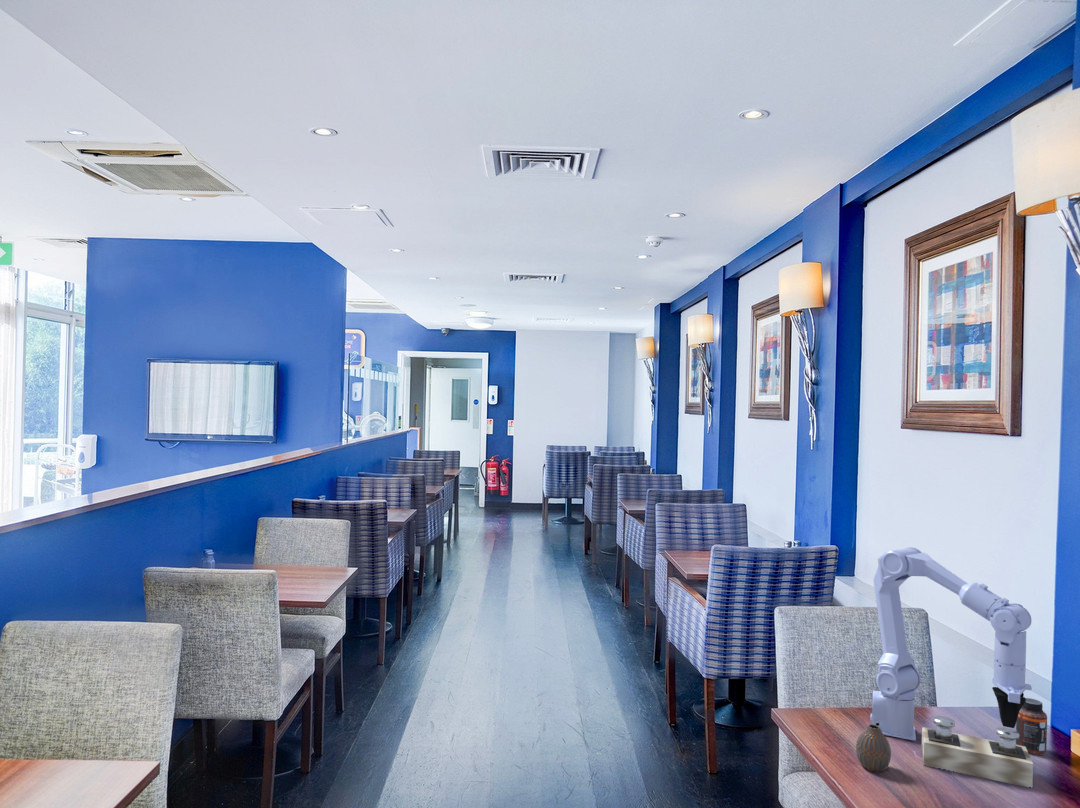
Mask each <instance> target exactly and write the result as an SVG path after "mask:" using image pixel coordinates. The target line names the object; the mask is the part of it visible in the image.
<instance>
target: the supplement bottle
mask: <svg viewBox="0 0 1080 808" xmlns="http://www.w3.org/2000/svg"><path fill="white" fill-rule="evenodd" d="M1025 699H1026V702H1025V704H1024V705H1023V706H1022V708H1021V709H1020V711H1019V714H1018V718H1017V721H1016V725H1015V731H1017V732H1018V733H1019V739H1017V740H1016V745H1019V746H1025V747H1026V749H1027V751H1028V753H1029V754H1030V753H1031V755H1036V754H1038V756H1039V755H1040V756H1041V754H1042V755H1045V754H1046V753H1047V739H1048V738H1047V737H1048V736H1047V734H1048V733H1047V732H1048V716H1047V713H1046V712H1045V711H1044V709H1043V702H1042V701H1040V700H1038V699H1035V698H1030V697H1025Z"/></svg>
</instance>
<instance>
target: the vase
mask: <svg viewBox="0 0 1080 808" xmlns="http://www.w3.org/2000/svg"><path fill="white" fill-rule="evenodd" d="M855 744H856V745H855V753H856V757H857V760H858V762H859V763H860V765H861V766H862V767H863V766H864V767H863V768H865V769H866V768H867V770H868V769H869V770H868V771H871V770H872V772H877V771H878V772H883V771H884V770H886V769H887V768H888V767H889V765H890V763H891V759H892V750H891V745H890V743H889V740H888V738H887V737H886V735H884V734H883V733H882V731H881V729H880V727H879V726H877V725H874V724H872V723H871V724H868V725H867V726H866V728H865V730H863V731H862V732H861V733H860V734H859V735H858V737H857V740H856V743H855Z"/></svg>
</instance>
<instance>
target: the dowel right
mask: <svg viewBox="0 0 1080 808" xmlns="http://www.w3.org/2000/svg"><path fill="white" fill-rule="evenodd" d="M995 733H996V735H998V742H999V751H1002V752H1007V753H1012V754H1015V750H1016V740H1017V739H1019V733H1018V732H1017V731H1016V729H1013V728H1010V727H1004V726H1002V727H1001V726H1000V727H996V729H995Z"/></svg>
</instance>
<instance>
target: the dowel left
mask: <svg viewBox="0 0 1080 808" xmlns="http://www.w3.org/2000/svg"><path fill="white" fill-rule="evenodd" d="M932 719H933V721H932V722H933V723H934V724H935V730H936V739H940V740H946V741H951V733H953V732H952V730H953V729H952V728H955V726H956V722H955V720H954V719H953V718H950V717H948V716H943V715H934V716H933V717H932Z"/></svg>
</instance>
